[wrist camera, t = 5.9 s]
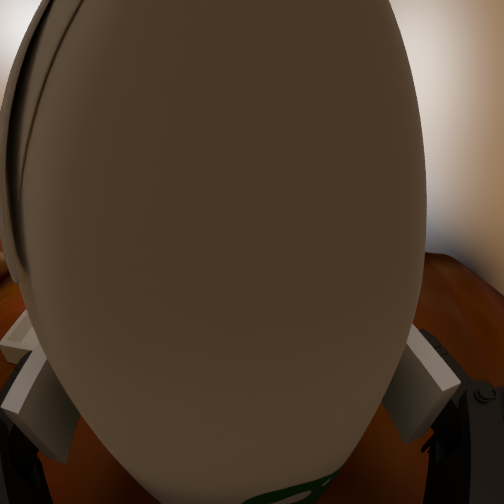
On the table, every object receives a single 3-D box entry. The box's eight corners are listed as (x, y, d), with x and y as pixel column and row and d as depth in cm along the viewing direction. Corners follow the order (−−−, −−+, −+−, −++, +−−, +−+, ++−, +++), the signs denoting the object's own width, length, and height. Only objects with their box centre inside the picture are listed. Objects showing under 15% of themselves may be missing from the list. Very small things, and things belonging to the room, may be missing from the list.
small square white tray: (8, 361, 16) (-2, 344, 16) (44, 310, 25) (39, 294, 24) (80, 375, 17) (71, 355, 16) (110, 312, 26) (105, 294, 25)
